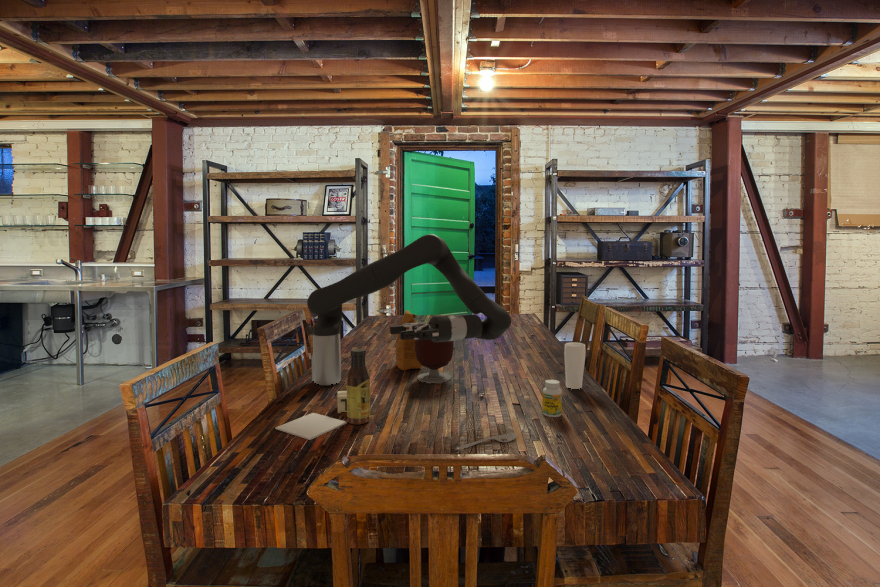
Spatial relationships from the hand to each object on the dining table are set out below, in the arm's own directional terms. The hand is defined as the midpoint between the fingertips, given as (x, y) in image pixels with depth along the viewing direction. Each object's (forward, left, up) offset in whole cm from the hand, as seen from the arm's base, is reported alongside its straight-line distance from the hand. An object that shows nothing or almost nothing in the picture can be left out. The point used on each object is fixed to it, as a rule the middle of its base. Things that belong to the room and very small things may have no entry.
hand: (395, 333), depth 130 cm
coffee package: (-28, +45, -24) cm, 58 cm away
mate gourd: (-10, +37, -24) cm, 45 cm away
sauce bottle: (-6, -9, -24) cm, 26 cm away
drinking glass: (+35, +53, -24) cm, 68 cm away
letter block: (-15, -4, -24) cm, 28 cm away
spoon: (+29, -4, -24) cm, 38 cm away
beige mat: (-14, -18, -24) cm, 33 cm away
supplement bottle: (+37, +25, -24) cm, 50 cm away
